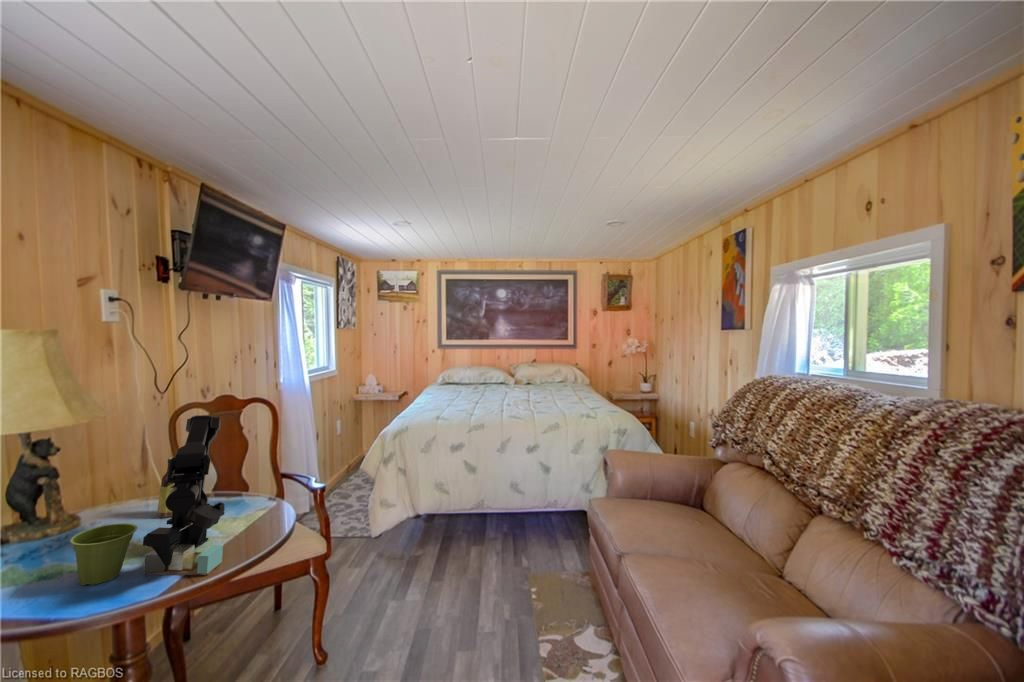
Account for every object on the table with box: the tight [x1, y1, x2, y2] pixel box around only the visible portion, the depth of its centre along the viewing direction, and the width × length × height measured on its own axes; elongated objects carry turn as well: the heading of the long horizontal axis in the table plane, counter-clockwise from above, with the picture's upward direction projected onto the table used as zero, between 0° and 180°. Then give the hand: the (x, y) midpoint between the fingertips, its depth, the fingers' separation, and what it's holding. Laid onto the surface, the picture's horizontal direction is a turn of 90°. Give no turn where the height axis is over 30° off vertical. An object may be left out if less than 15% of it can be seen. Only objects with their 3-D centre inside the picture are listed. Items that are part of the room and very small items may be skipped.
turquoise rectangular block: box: [197, 544, 224, 574], centre depth 102 cm, size 2×6×5 cm, turn 4°
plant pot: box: [69, 522, 138, 586], centre depth 97 cm, size 12×12×11 cm
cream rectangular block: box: [166, 545, 202, 570], centre depth 102 cm, size 11×4×5 cm, turn 93°
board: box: [143, 562, 222, 576], centre depth 102 cm, size 16×5×1 cm, turn 93°
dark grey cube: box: [143, 545, 180, 573], centre depth 102 cm, size 5×5×4 cm
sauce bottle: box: [157, 456, 183, 519], centre depth 133 cm, size 7×6×20 cm
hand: (181, 556), depth 102 cm, fingers open, 9 cm apart
